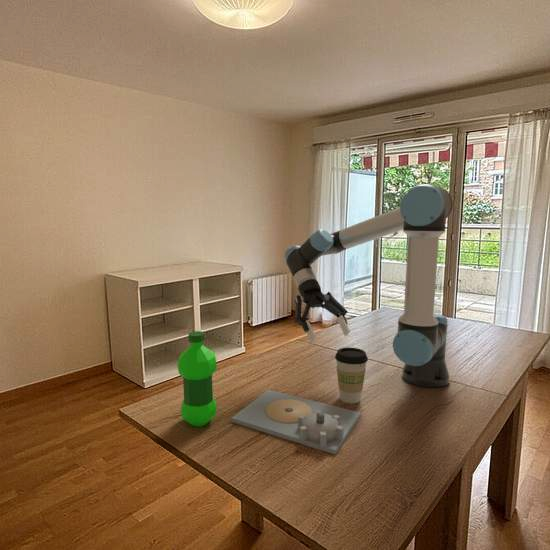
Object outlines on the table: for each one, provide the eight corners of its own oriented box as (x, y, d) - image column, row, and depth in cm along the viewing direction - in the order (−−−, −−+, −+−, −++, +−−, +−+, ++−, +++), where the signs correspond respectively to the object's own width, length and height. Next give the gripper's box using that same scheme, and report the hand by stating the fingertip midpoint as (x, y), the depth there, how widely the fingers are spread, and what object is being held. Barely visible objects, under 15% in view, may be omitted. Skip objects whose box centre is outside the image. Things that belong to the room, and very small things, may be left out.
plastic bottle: (195, 436, 99) (192, 342, 95) (172, 421, 106) (168, 333, 102) (225, 421, 106) (223, 333, 103) (202, 408, 114) (200, 325, 110)
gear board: (360, 416, 109) (361, 395, 108) (334, 455, 91) (335, 431, 90) (268, 392, 123) (268, 374, 122) (230, 422, 106) (230, 401, 105)
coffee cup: (347, 409, 113) (348, 360, 111) (327, 395, 122) (328, 349, 119) (373, 401, 117) (375, 354, 115) (352, 389, 126) (354, 344, 124)
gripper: (331, 287, 146) (355, 336, 135) (272, 293, 135) (293, 347, 124) (340, 275, 140) (366, 326, 129) (279, 280, 129) (302, 336, 118)
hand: (330, 336), depth 127 cm, fingers open, 13 cm apart
